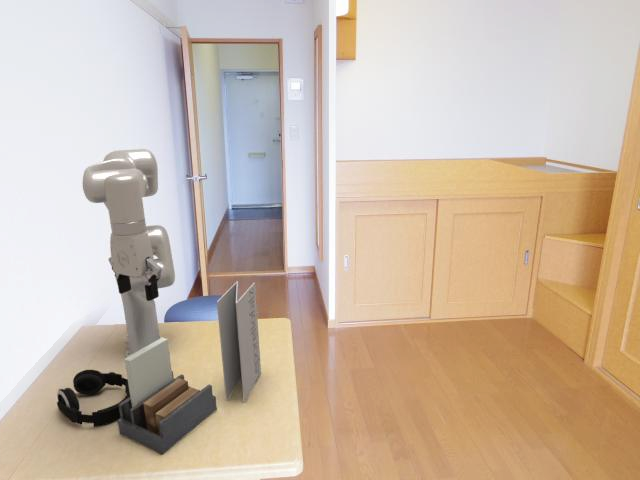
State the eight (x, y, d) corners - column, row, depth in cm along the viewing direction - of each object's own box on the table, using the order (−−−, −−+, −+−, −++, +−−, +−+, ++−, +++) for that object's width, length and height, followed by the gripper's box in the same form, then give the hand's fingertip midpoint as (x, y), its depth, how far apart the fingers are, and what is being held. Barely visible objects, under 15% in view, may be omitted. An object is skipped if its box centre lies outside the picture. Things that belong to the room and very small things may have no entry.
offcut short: (159, 438, 115) (155, 413, 113) (193, 411, 125) (191, 387, 123) (167, 443, 114) (164, 417, 112) (202, 414, 124) (199, 390, 122)
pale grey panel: (135, 427, 119) (124, 359, 113) (170, 401, 129) (162, 337, 123) (140, 430, 118) (129, 361, 112) (176, 403, 128) (167, 339, 122)
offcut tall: (147, 433, 117) (143, 403, 114) (183, 406, 127) (179, 378, 124) (156, 437, 116) (151, 406, 113) (191, 410, 126) (187, 381, 123)
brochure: (244, 403, 128) (236, 303, 119) (225, 400, 129) (216, 301, 120) (261, 373, 141) (255, 282, 132) (243, 372, 142) (236, 281, 133)
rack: (119, 433, 117) (114, 406, 115) (176, 392, 133) (172, 368, 130) (162, 454, 110) (158, 426, 108) (216, 408, 126) (214, 383, 123)
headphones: (84, 360, 136) (147, 372, 133) (86, 382, 138) (148, 395, 135) (38, 398, 119) (109, 413, 116) (41, 423, 121) (111, 438, 119)
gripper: (90, 227, 109) (102, 294, 114) (141, 235, 101) (151, 307, 106) (118, 220, 115) (127, 284, 120) (167, 227, 107) (176, 296, 112)
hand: (138, 295), depth 113 cm, fingers open, 9 cm apart
